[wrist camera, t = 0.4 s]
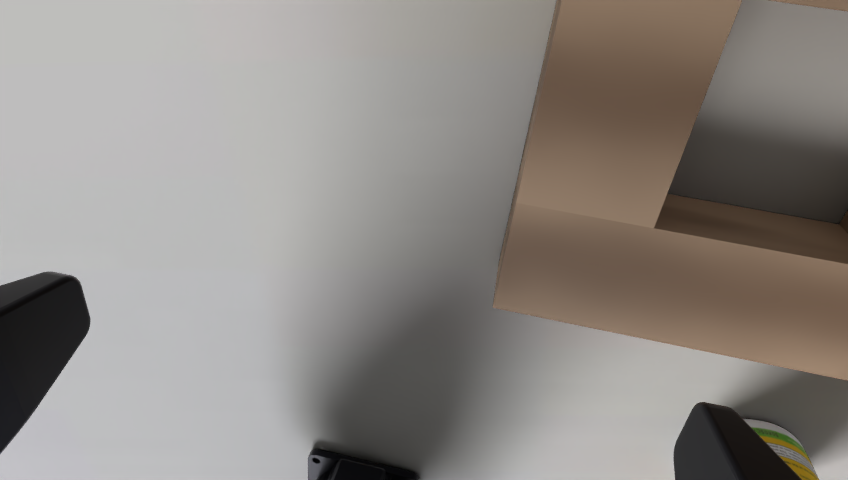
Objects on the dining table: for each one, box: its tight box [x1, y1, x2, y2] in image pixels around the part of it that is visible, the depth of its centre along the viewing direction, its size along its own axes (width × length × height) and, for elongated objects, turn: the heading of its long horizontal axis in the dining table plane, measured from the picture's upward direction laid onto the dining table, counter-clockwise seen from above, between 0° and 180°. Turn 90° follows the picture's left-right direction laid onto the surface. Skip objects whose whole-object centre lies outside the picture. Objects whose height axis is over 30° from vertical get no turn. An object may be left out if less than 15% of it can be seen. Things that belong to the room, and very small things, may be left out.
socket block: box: [493, 0, 848, 381], centre depth 17 cm, size 16×16×3 cm
